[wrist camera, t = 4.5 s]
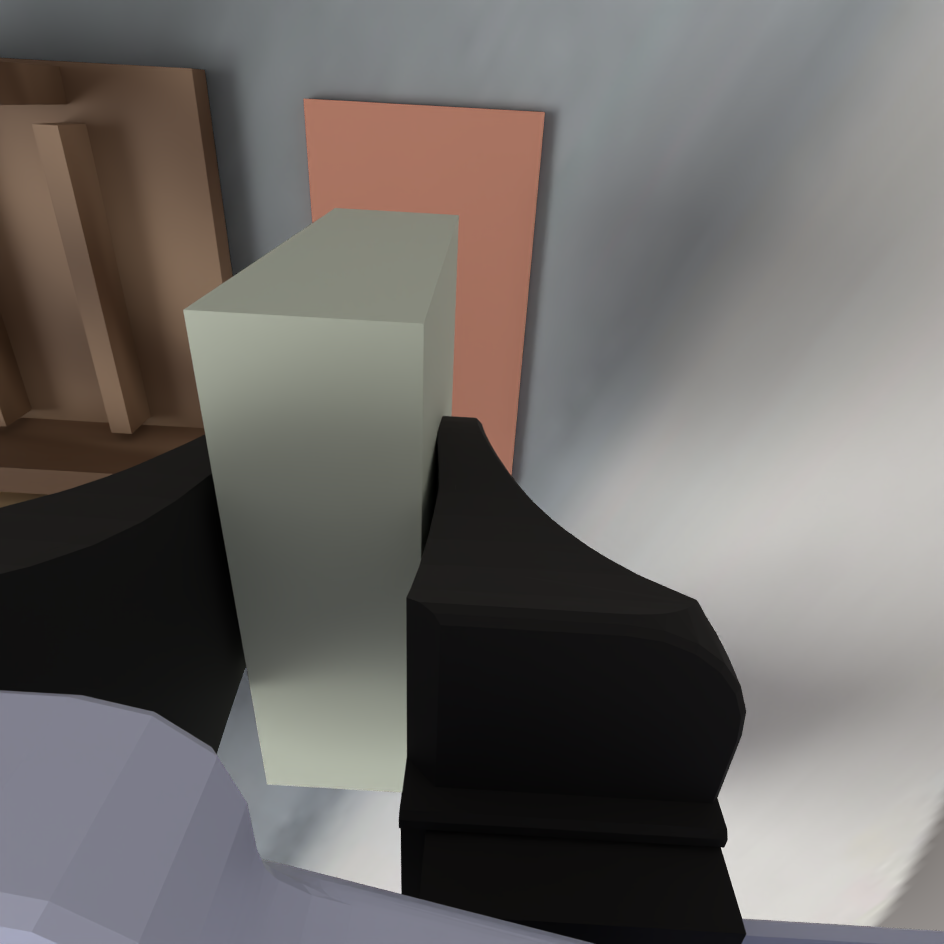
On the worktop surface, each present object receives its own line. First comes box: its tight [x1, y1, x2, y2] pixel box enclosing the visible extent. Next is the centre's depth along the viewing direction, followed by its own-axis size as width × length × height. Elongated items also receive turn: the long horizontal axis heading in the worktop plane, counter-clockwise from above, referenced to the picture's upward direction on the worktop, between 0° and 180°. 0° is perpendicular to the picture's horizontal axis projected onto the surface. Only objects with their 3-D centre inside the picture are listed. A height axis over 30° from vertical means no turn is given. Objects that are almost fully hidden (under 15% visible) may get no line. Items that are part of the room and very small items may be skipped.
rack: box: [0, 58, 233, 495], centre depth 18 cm, size 15×9×4 cm, turn 177°
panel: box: [183, 208, 459, 793], centre depth 11 cm, size 8×2×7 cm, turn 177°
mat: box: [304, 99, 545, 476], centre depth 19 cm, size 11×6×1 cm, turn 177°
